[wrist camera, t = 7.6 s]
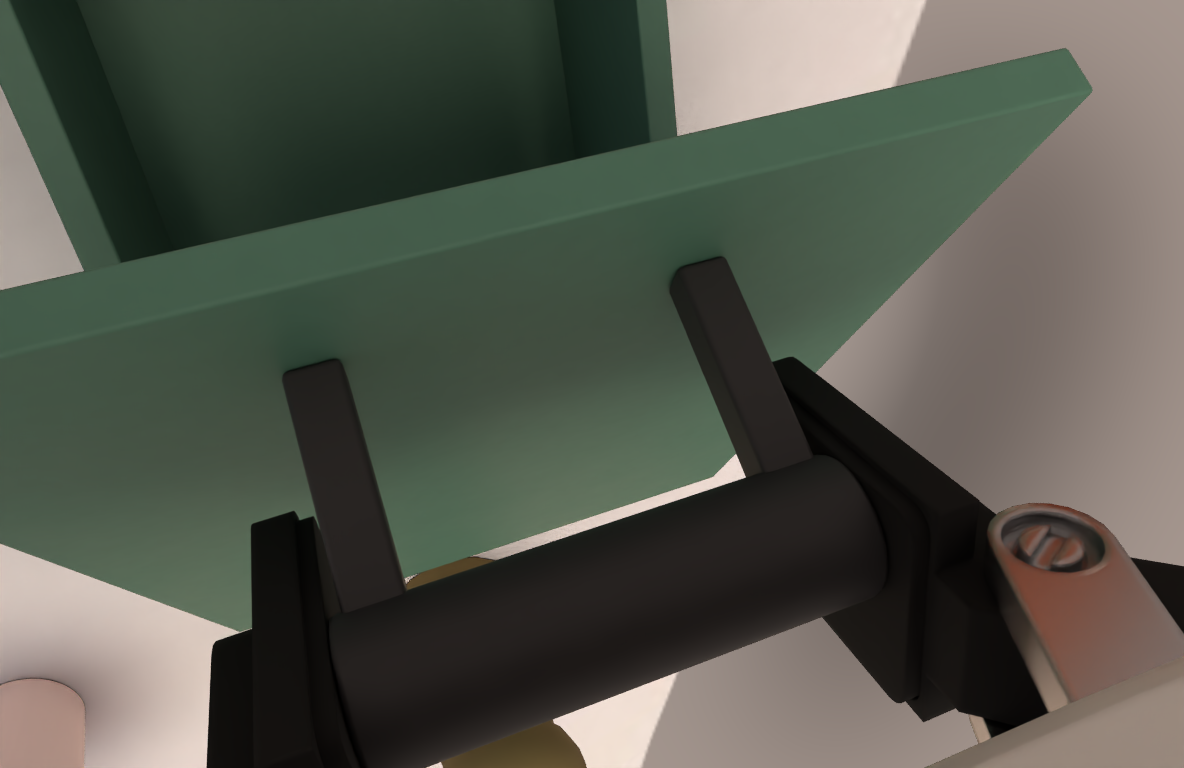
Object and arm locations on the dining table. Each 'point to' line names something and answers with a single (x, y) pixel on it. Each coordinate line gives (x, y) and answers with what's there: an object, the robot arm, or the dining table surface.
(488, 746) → the cork
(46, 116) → the lunchbox
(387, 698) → the lid
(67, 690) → the smoothie
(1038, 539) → the robot arm
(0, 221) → the dining table surface
